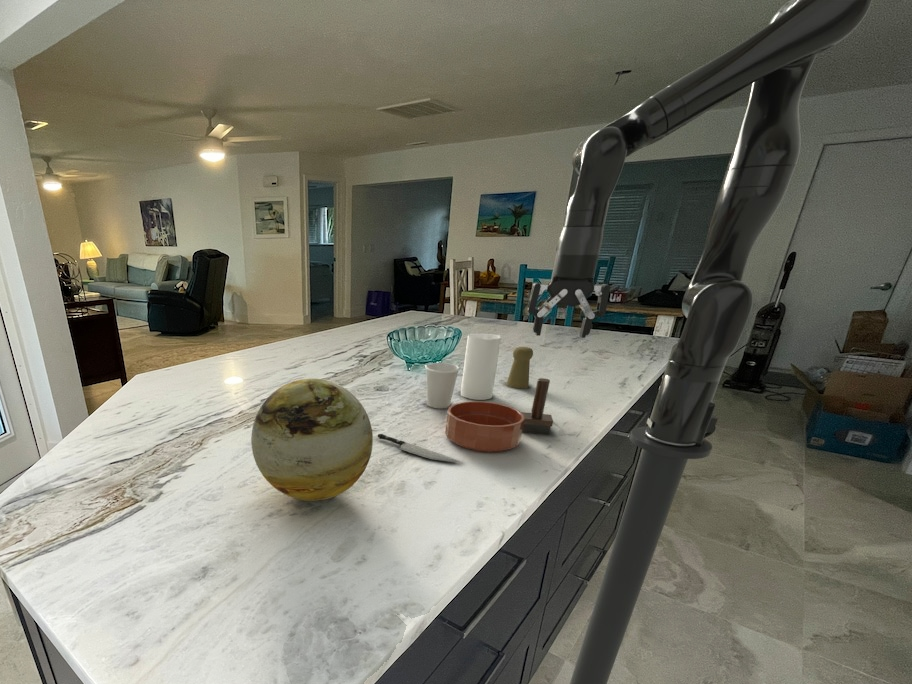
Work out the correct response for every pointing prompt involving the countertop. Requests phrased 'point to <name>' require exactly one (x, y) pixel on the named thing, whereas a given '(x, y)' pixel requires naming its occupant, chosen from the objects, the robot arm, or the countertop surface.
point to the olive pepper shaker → (520, 368)
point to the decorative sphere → (312, 439)
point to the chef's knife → (418, 450)
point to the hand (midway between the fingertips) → (559, 336)
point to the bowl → (484, 426)
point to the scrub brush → (538, 411)
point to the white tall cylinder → (480, 366)
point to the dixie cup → (440, 384)
